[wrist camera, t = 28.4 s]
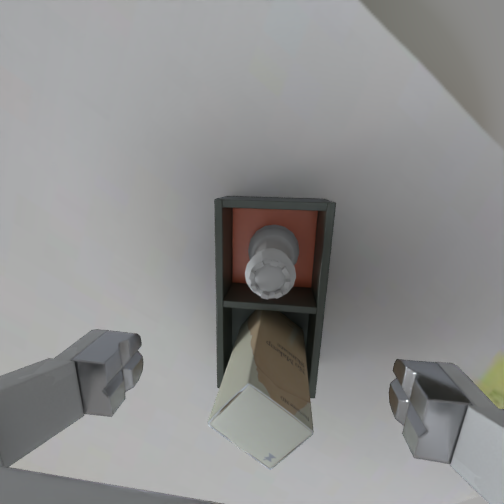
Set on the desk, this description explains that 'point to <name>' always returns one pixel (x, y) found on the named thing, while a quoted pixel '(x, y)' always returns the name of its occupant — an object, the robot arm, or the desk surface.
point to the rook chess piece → (272, 261)
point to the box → (265, 390)
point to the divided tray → (307, 266)
